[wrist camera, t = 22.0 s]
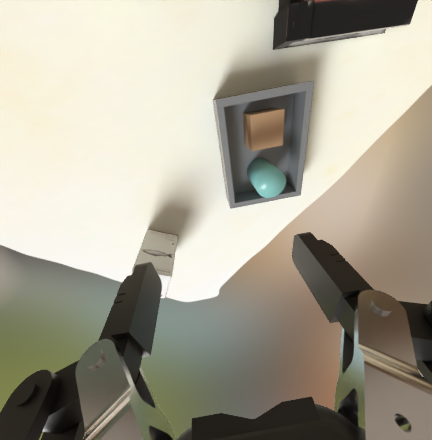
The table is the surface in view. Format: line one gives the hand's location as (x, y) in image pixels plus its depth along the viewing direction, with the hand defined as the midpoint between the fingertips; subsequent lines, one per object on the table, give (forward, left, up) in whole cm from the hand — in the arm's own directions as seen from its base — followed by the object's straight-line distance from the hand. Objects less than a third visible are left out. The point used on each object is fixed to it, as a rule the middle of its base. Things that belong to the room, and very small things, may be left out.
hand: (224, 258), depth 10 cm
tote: (+2, +10, -28) cm, 30 cm away
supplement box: (+20, -15, -28) cm, 38 cm away
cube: (-2, +10, -27) cm, 29 cm away
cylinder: (+6, +10, -27) cm, 30 cm away
